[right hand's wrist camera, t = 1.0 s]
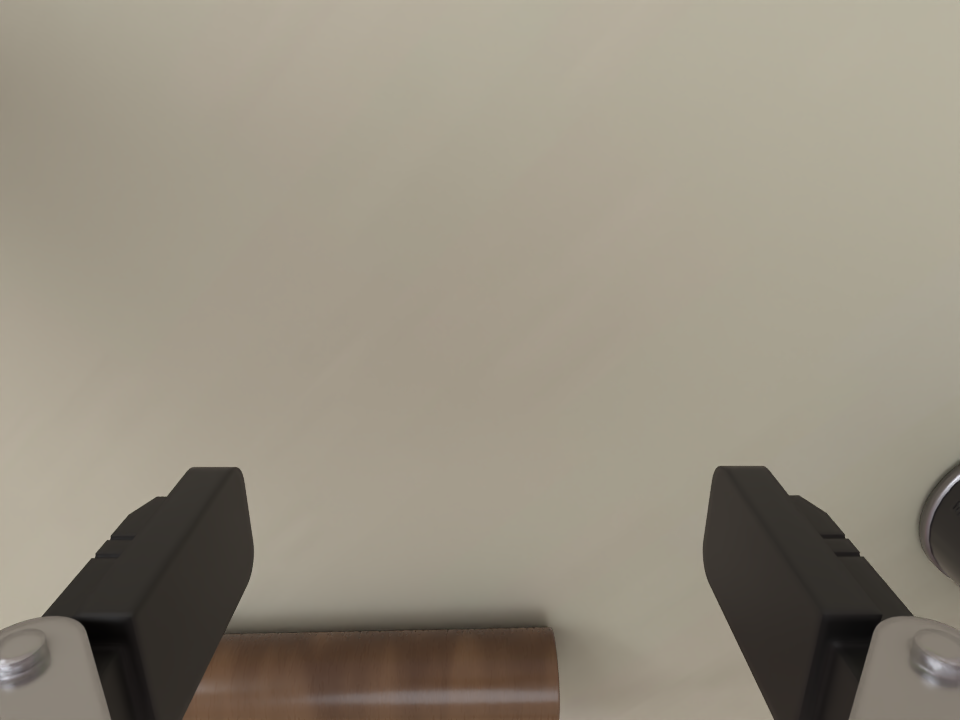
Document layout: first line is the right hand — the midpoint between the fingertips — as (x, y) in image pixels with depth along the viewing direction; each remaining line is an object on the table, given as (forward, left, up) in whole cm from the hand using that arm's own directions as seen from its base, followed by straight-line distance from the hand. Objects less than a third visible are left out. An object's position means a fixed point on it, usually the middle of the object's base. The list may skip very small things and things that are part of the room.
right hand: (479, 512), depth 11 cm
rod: (-11, +25, -23) cm, 35 cm away
